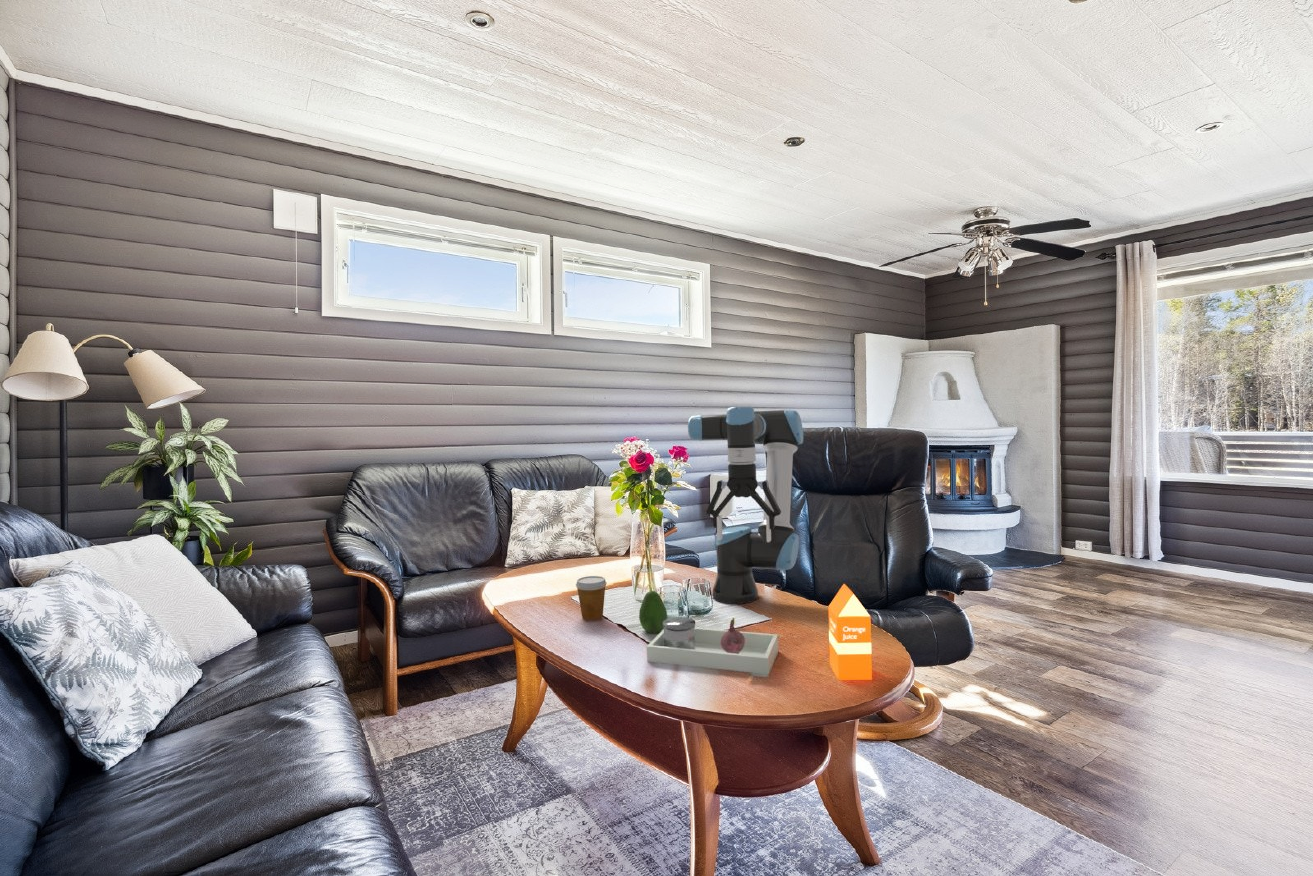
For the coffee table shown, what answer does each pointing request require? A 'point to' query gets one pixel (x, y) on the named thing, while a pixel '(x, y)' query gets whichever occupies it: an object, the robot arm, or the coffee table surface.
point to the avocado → (652, 613)
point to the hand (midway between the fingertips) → (744, 540)
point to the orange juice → (849, 637)
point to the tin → (679, 632)
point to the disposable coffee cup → (591, 597)
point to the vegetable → (732, 640)
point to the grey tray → (719, 652)
